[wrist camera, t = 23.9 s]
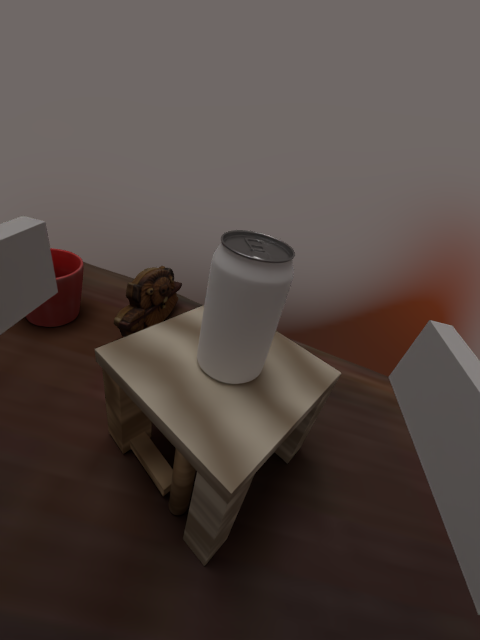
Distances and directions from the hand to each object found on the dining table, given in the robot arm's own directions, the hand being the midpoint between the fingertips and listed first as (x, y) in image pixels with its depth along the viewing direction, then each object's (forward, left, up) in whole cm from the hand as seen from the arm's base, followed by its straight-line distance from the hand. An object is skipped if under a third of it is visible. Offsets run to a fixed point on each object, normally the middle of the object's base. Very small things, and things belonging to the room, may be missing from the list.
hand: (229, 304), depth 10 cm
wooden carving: (+19, +31, -28) cm, 46 cm away
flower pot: (+7, +42, -28) cm, 51 cm away
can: (+11, +7, -14) cm, 19 cm away
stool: (+10, +7, -28) cm, 31 cm away
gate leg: (+4, +9, -28) cm, 30 cm away
